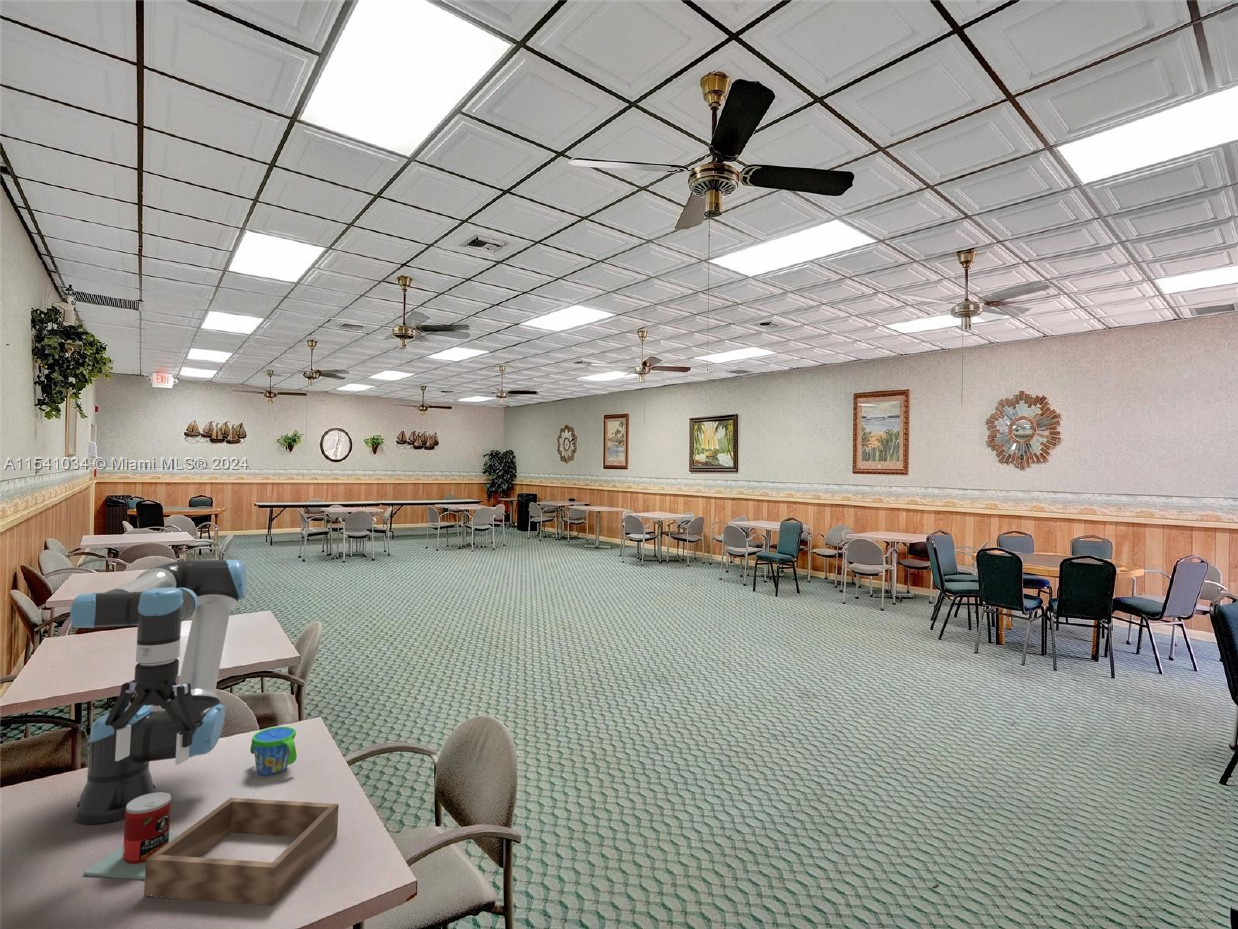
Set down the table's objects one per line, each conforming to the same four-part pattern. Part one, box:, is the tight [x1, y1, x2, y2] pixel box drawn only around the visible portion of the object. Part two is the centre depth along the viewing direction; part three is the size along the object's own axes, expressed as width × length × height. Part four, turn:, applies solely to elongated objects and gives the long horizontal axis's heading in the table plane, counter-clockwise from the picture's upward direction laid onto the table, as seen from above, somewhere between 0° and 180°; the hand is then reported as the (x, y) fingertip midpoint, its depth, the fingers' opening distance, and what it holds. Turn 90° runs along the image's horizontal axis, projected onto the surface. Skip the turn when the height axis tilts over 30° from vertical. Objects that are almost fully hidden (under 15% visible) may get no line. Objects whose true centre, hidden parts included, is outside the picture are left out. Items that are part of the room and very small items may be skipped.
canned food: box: [122, 791, 172, 864], centre depth 126 cm, size 8×8×11 cm
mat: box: [83, 833, 180, 880], centre depth 126 cm, size 14×14×1 cm
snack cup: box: [250, 726, 297, 777], centre depth 165 cm, size 16×11×10 cm
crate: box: [143, 797, 339, 906], centre depth 125 cm, size 26×23×7 cm
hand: (152, 760), depth 127 cm, fingers open, 13 cm apart
